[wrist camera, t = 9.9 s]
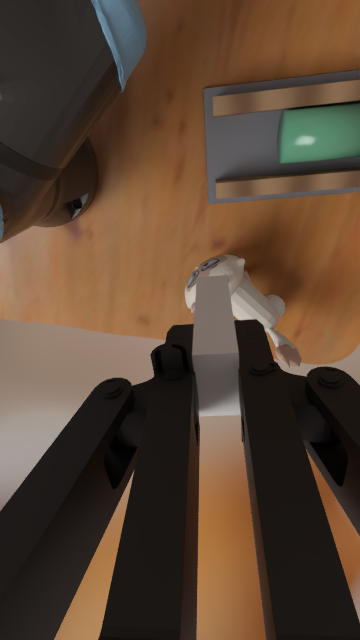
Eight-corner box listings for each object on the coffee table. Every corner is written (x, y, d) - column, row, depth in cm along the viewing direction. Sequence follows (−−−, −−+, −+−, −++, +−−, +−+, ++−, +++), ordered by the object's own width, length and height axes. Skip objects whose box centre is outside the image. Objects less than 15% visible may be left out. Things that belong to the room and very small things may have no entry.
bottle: (285, 158, 36) (428, 147, 35) (287, 102, 35) (435, 88, 33) (276, 167, 41) (399, 158, 40) (277, 119, 40) (405, 107, 38)
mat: (208, 203, 45) (208, 204, 45) (203, 89, 39) (203, 88, 39) (378, 189, 43) (379, 190, 42) (401, 65, 36) (403, 64, 36)
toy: (222, 220, 46) (227, 254, 33) (308, 304, 51) (342, 362, 38) (179, 265, 50) (169, 311, 37) (264, 339, 55) (281, 402, 42)
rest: (215, 194, 44) (216, 198, 41) (212, 99, 39) (212, 96, 36) (373, 180, 42) (386, 184, 39) (391, 79, 37) (408, 73, 34)
